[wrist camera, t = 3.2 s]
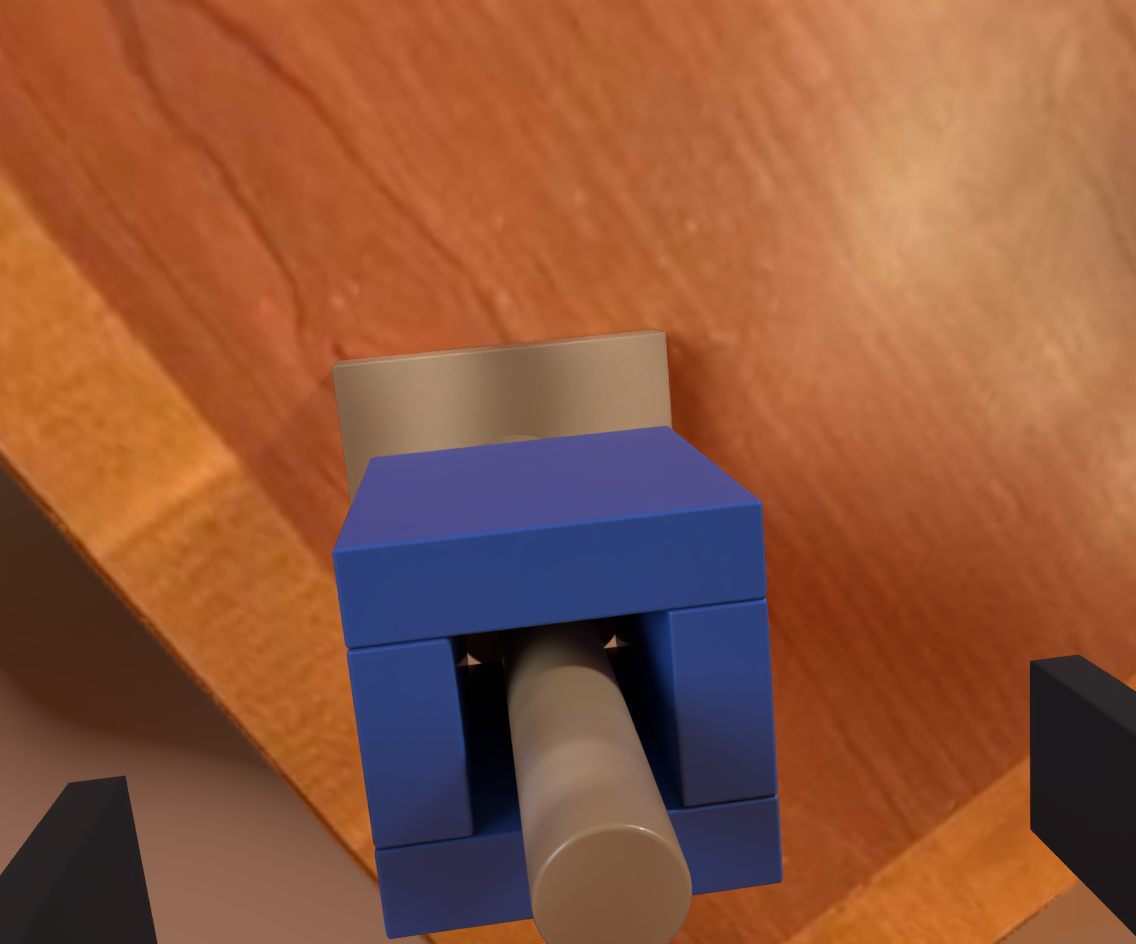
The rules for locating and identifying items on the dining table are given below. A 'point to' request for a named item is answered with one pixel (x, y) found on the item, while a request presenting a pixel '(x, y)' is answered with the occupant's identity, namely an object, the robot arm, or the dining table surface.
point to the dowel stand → (554, 651)
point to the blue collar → (539, 597)
